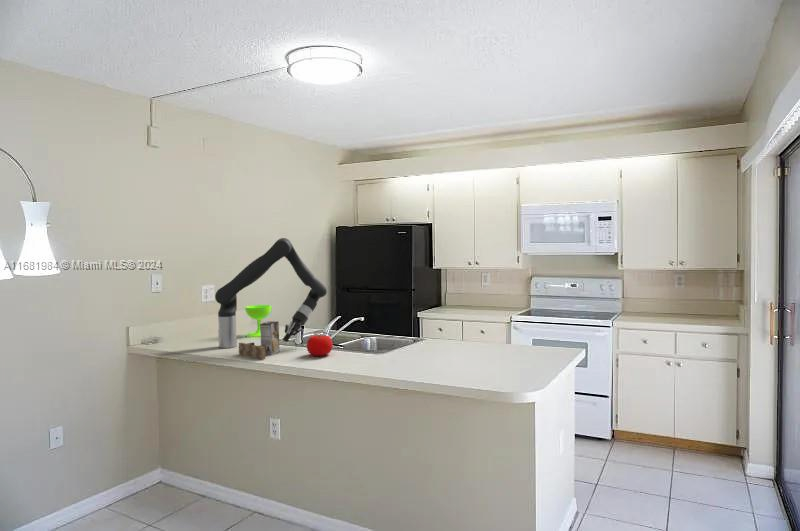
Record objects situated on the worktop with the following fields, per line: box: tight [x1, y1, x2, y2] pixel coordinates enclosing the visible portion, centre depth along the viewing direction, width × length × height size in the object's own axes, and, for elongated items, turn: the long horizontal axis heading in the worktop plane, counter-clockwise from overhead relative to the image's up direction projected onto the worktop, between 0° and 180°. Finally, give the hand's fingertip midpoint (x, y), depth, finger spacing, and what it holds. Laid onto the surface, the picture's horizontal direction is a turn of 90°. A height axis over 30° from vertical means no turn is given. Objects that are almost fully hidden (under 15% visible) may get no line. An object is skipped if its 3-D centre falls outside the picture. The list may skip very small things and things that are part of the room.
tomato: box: [306, 334, 334, 357], centre depth 285 cm, size 14×13×10 cm
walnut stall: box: [238, 342, 267, 360], centre depth 287 cm, size 22×5×6 cm, turn 47°
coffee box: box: [260, 320, 281, 356], centre depth 293 cm, size 9×6×16 cm
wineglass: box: [244, 304, 272, 338], centre depth 353 cm, size 16×16×18 cm
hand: (284, 340), depth 300 cm, fingers closed
